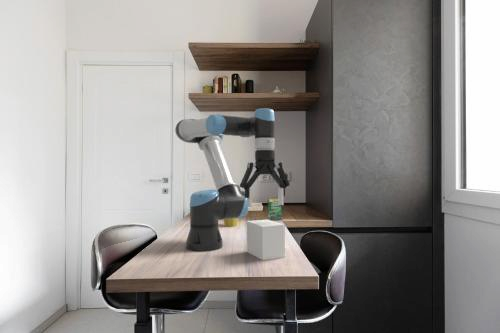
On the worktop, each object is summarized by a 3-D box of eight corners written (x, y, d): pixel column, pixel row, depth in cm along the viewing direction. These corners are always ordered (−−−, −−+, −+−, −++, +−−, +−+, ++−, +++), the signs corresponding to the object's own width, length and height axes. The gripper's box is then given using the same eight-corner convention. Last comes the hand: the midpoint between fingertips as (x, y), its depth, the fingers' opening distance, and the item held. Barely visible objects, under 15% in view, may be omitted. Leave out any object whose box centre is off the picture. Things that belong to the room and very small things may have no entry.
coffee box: (268, 220, 201) (268, 199, 201) (267, 219, 203) (267, 198, 203) (281, 220, 202) (281, 198, 202) (280, 219, 205) (280, 198, 205)
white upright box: (262, 260, 116) (262, 226, 116) (246, 251, 128) (246, 221, 128) (284, 257, 120) (284, 224, 120) (267, 249, 132) (267, 219, 132)
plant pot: (229, 228, 176) (229, 210, 176) (217, 225, 184) (217, 208, 184) (243, 225, 183) (243, 208, 183) (232, 223, 191) (232, 206, 191)
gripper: (238, 148, 115) (239, 208, 115) (297, 149, 126) (298, 204, 126) (230, 149, 122) (231, 206, 122) (287, 150, 133) (288, 203, 132)
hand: (265, 205), depth 124 cm, fingers open, 13 cm apart
